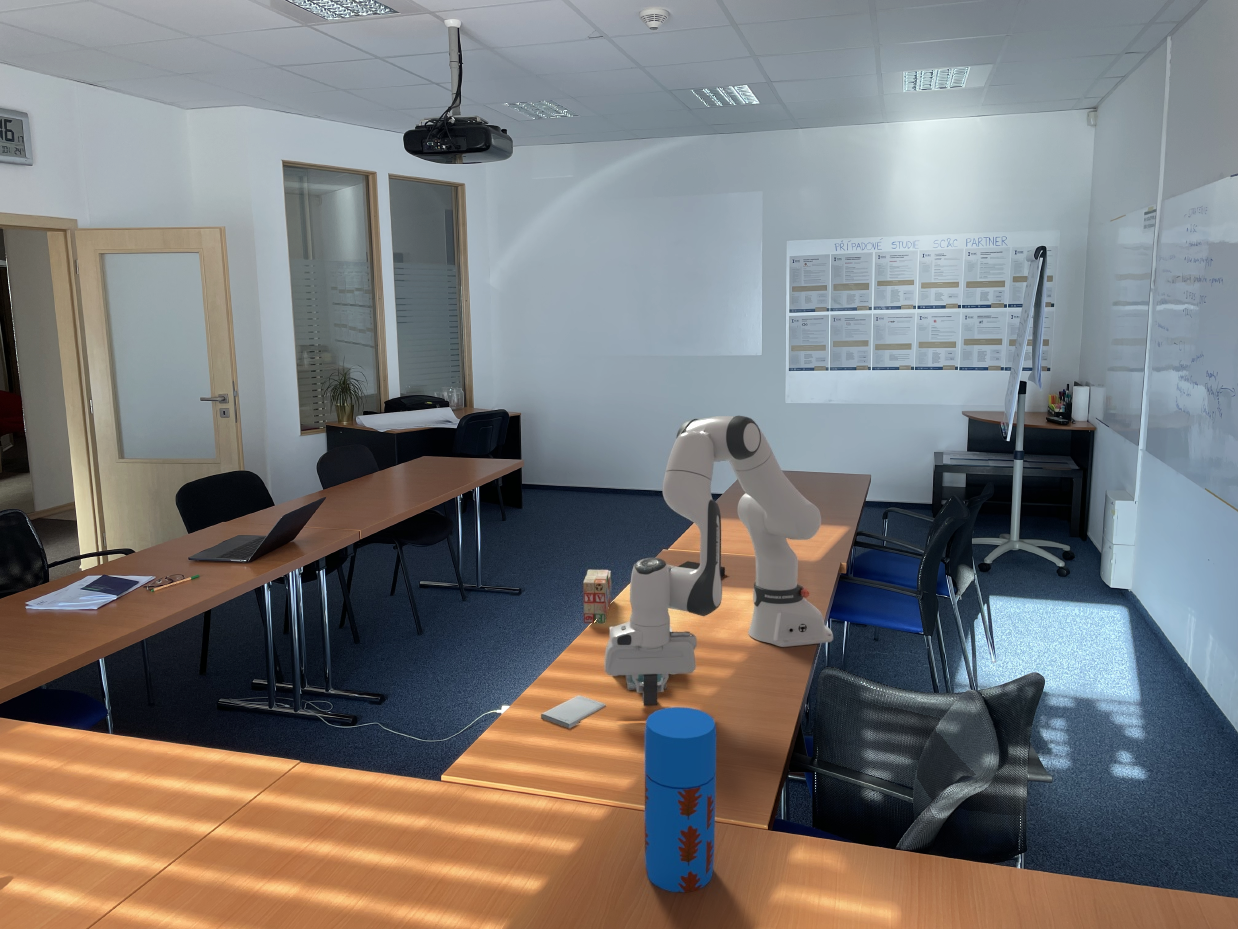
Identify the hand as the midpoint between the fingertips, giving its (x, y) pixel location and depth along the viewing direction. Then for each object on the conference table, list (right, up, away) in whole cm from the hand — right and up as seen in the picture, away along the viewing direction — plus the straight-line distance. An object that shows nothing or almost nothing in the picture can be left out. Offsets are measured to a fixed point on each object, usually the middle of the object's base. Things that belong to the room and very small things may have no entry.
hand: (649, 691), depth 197 cm
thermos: (+3, -13, -58) cm, 60 cm away
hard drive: (-17, -5, -3) cm, 18 cm away
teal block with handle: (0, -1, +9) cm, 9 cm away
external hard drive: (+16, +12, +93) cm, 95 cm away
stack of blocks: (-13, +7, +63) cm, 65 cm away
